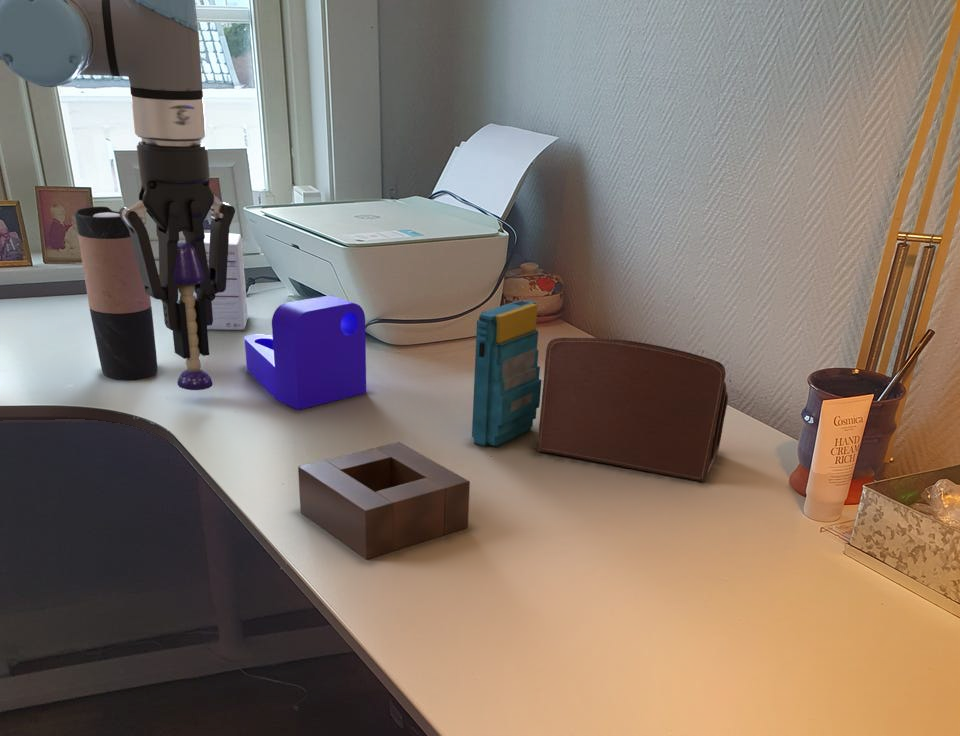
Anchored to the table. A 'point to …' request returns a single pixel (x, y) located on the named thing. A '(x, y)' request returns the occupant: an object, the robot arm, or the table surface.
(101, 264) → the travel mug
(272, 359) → the bracket
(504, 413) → the handheld gaming console
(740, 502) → the table surface
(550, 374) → the letter holder
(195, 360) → the toy lamp
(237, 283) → the white packaging box
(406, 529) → the socket base
